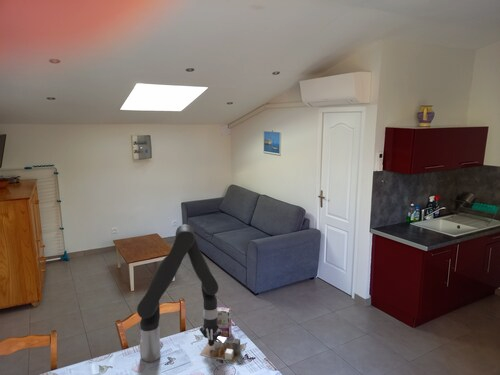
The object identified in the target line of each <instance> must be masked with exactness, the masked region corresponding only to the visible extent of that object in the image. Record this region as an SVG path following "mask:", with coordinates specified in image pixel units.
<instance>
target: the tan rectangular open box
mask: <svg viewBox="0 0 500 375" xmlns="http://www.w3.org/2000/svg"><path fill="white" fill-rule="evenodd" d="M214 341H215V340H214ZM244 347H245V345H243V344H241V338H233V341H232V342H231V343H229V342H227V349H232V350H234V356H233V358H232V360H228V359H225V352H224V354H223V353H222V354H221V355H220V356H219V353H218V352H215V347H214V344H213V345H212V346H209V344H208V342H207V343H206V345H205V346H204V347H203V349H202V351H201V352H200V353H199V356H202V357H207V358H211V359H212V358H213V359H217V360H222V361H226V362H232V363H236V362H237V360H238V358H239V356H241V353H242V351H243V349H244ZM227 349H226V350H227ZM226 350H225V351H226Z"/></svg>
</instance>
